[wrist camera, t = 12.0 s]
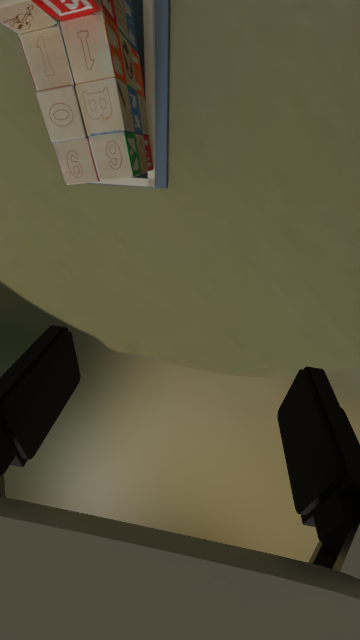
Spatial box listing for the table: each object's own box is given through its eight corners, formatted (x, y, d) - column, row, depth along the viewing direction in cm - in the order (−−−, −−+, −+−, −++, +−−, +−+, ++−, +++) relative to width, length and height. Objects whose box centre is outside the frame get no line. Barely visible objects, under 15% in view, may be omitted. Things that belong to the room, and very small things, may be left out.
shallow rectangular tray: (172, -241, 16) (168, -284, 15) (167, 187, 31) (164, 189, 29) (1, -230, 17) (-22, -269, 16) (73, 181, 32) (66, 183, 30)
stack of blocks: (156, 170, 28) (122, 184, 18) (103, 176, 29) (43, 192, 19) (104, -212, 16) (-78, -794, 6) (19, -179, 17) (-258, -636, 7)
